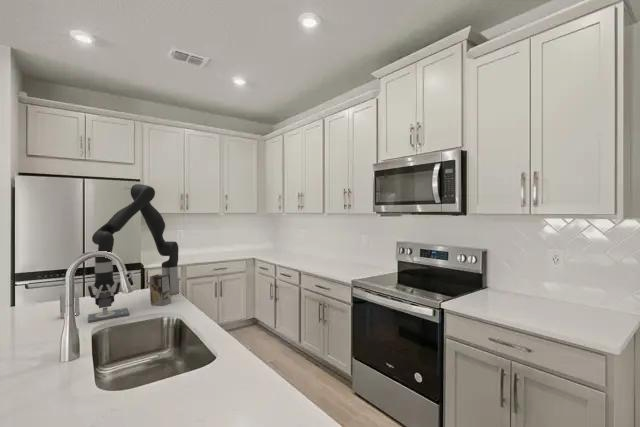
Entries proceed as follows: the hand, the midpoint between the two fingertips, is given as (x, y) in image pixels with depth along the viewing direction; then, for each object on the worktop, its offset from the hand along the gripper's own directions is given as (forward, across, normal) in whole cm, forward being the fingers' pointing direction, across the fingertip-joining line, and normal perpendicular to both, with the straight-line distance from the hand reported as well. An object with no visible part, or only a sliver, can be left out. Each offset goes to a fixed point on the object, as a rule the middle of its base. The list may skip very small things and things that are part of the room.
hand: (105, 304), depth 161 cm
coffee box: (+7, +26, +6) cm, 28 cm away
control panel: (+7, +2, 0) cm, 7 cm away
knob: (+1, 0, 0) cm, 1 cm away
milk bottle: (+7, -14, +14) cm, 21 cm away
